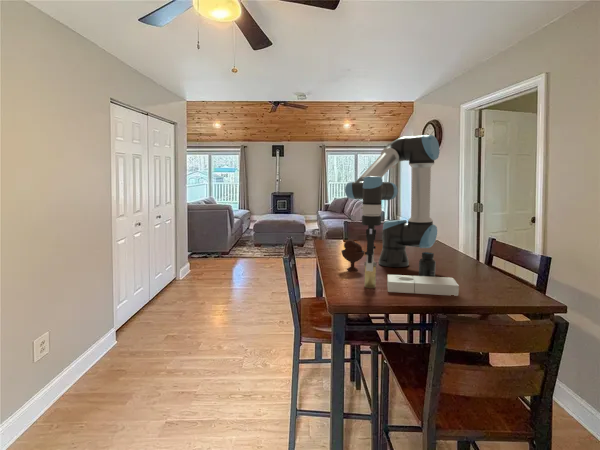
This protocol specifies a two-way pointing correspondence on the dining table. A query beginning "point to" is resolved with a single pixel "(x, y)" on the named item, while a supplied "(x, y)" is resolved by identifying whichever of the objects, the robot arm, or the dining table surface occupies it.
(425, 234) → the robot arm
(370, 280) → the gold grey cylinder
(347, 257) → the ice cream bowl
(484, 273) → the dining table surface
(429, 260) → the supplement bottle
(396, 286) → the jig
